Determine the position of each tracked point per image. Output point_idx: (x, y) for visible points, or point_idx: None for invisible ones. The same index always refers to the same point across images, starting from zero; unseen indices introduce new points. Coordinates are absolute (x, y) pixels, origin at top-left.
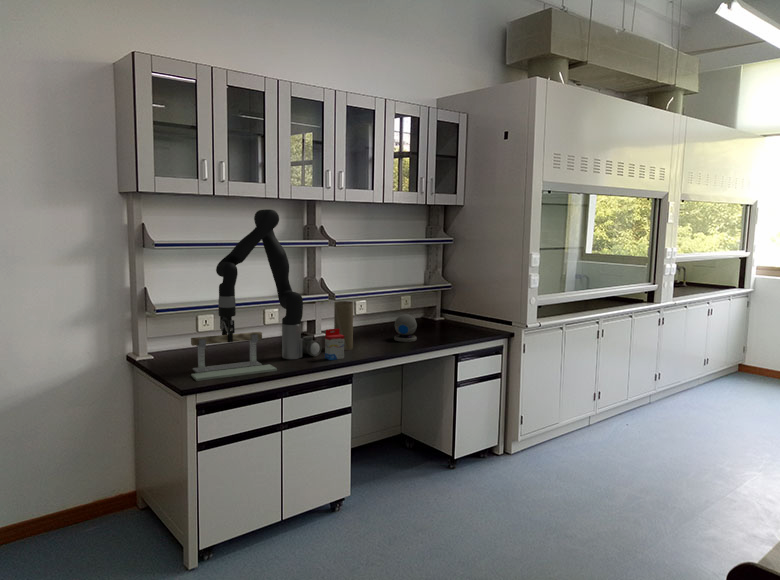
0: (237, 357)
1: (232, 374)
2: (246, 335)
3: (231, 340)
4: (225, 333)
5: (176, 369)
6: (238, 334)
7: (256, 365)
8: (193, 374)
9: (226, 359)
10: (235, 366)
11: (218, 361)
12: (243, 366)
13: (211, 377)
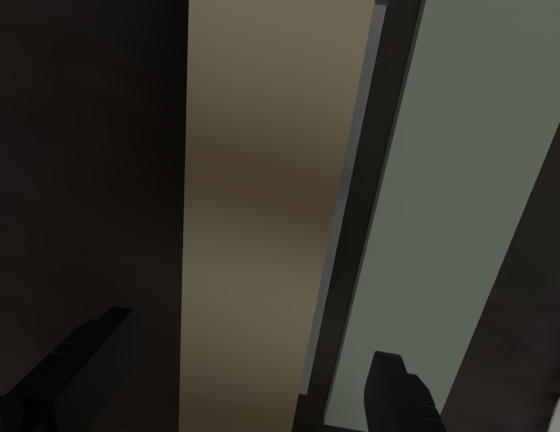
0: (6, 16)
1: (490, 287)
2: (357, 76)
3: (421, 395)
4: (88, 387)
5: (161, 407)
6: (280, 248)
7: (380, 28)
8: (342, 422)
9: (43, 118)
10: None
11: (79, 186)
12: (357, 141)
13: (449, 384)
